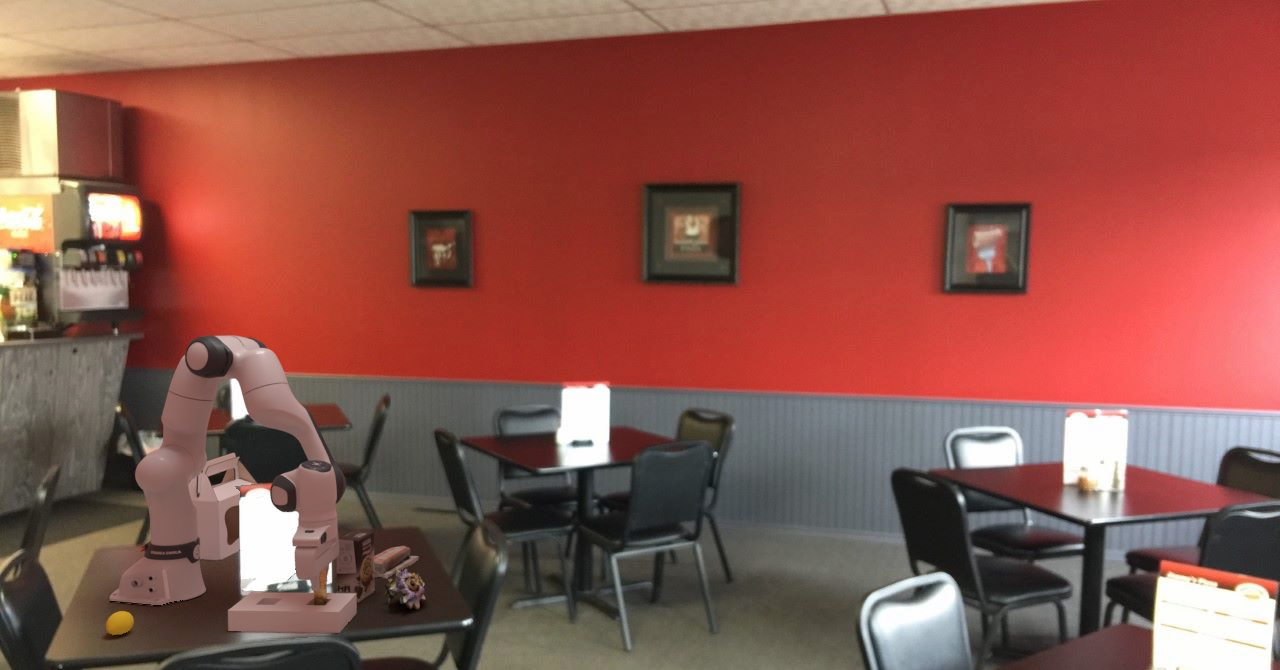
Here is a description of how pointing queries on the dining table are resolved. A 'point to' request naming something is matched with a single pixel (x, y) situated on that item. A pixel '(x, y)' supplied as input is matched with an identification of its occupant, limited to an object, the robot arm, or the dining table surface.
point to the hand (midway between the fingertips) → (319, 586)
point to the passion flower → (406, 588)
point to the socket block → (291, 613)
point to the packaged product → (392, 561)
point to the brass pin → (321, 590)
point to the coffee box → (356, 564)
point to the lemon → (119, 623)
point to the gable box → (219, 506)
